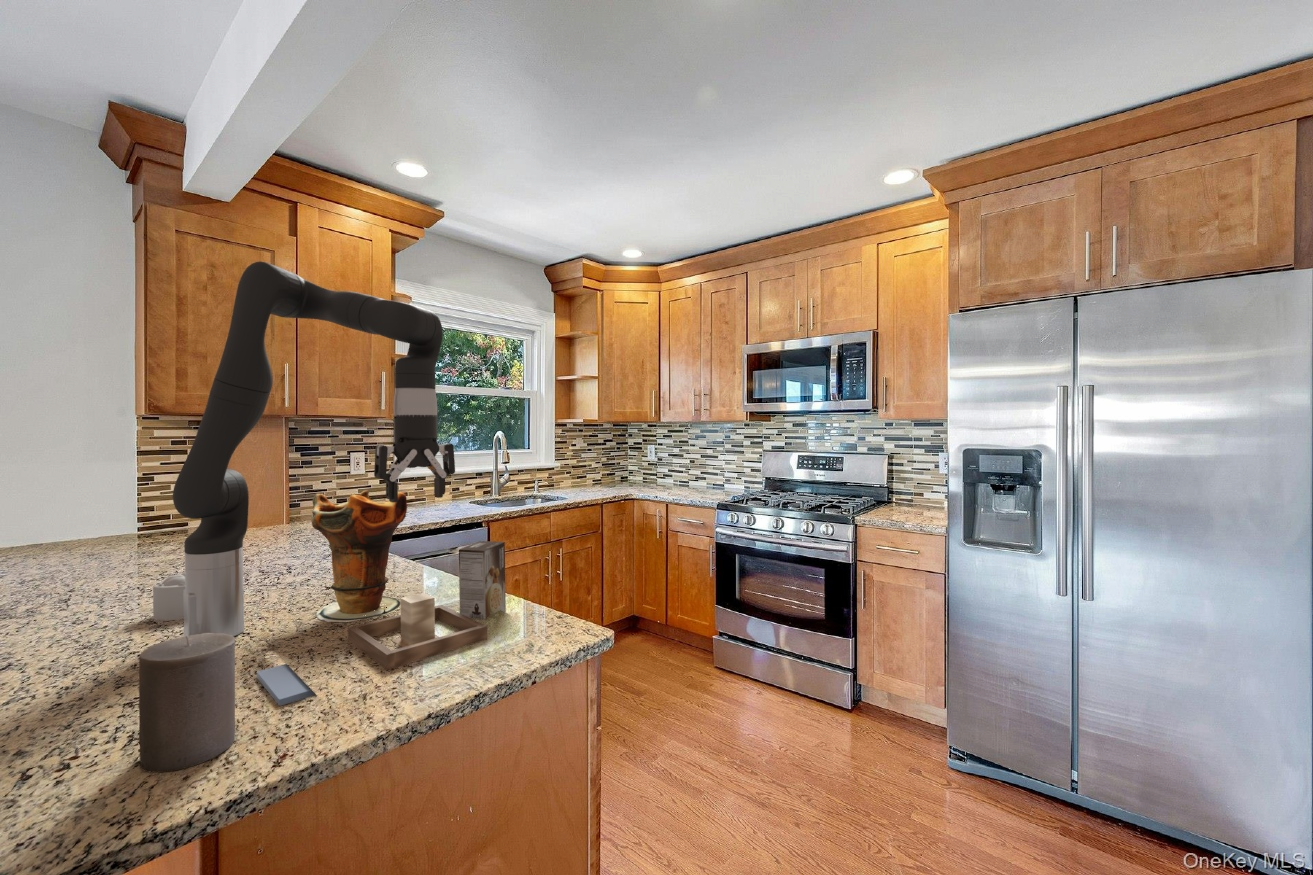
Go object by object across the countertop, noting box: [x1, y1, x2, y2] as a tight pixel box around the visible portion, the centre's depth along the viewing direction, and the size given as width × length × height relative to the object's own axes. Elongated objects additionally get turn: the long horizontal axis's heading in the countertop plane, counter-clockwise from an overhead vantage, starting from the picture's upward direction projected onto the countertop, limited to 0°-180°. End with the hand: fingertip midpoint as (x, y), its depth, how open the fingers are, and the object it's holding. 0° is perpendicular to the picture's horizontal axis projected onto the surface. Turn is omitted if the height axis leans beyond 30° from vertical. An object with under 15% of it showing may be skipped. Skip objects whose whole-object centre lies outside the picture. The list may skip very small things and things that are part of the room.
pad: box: [256, 663, 317, 707], centre depth 95 cm, size 14×14×1 cm
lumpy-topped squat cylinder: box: [152, 571, 185, 621], centre depth 128 cm, size 10×13×9 cm
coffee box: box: [458, 540, 507, 620], centre depth 123 cm, size 9×6×16 cm
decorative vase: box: [311, 489, 408, 623], centre depth 130 cm, size 21×23×28 cm
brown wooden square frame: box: [347, 604, 488, 671], centre depth 107 cm, size 18×18×4 cm
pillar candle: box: [138, 633, 236, 773], centre depth 73 cm, size 10×10×15 cm
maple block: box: [399, 592, 436, 645], centre depth 107 cm, size 4×4×8 cm
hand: (416, 499), depth 107 cm, fingers open, 8 cm apart
